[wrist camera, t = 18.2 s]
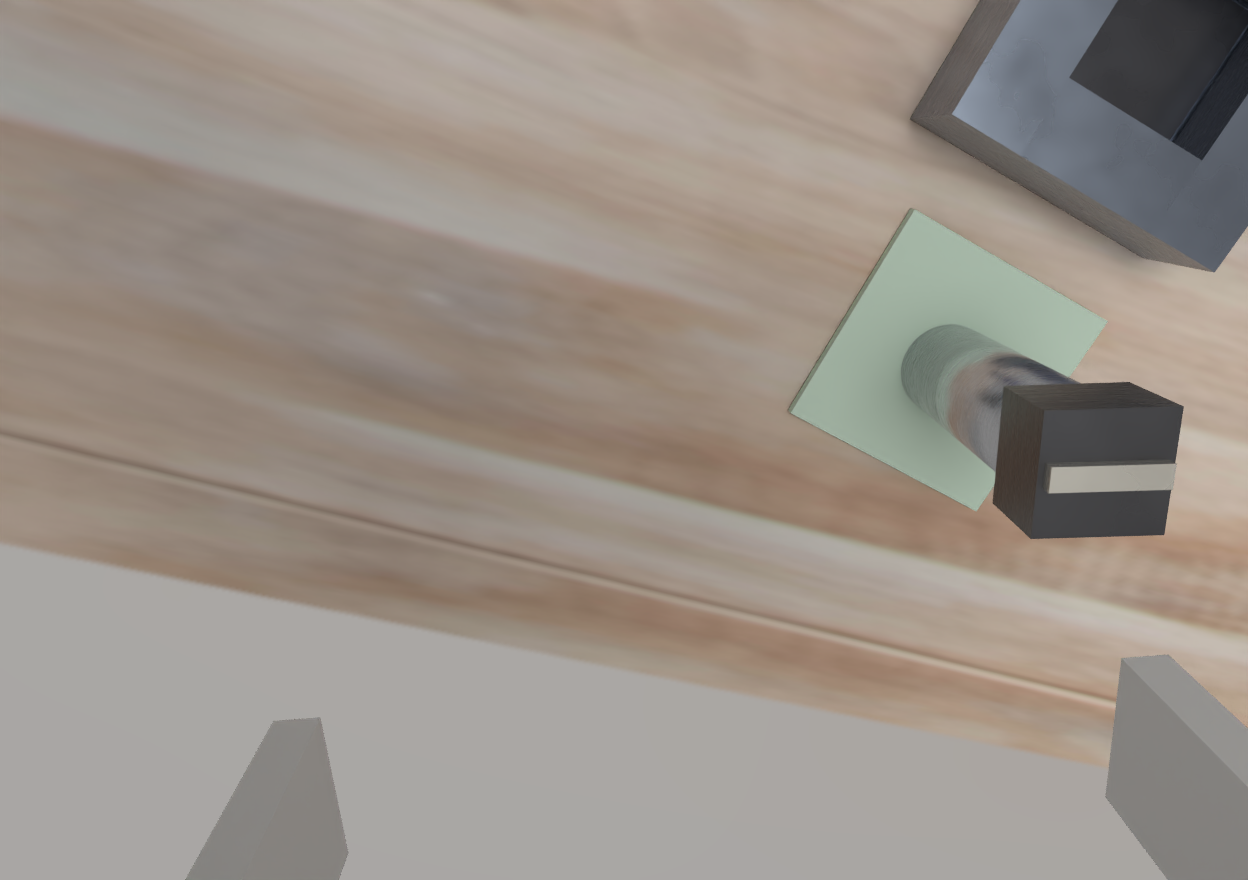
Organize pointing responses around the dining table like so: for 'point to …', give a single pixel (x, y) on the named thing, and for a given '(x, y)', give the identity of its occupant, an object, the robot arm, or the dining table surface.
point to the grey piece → (1050, 436)
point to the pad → (906, 308)
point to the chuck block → (1110, 115)
